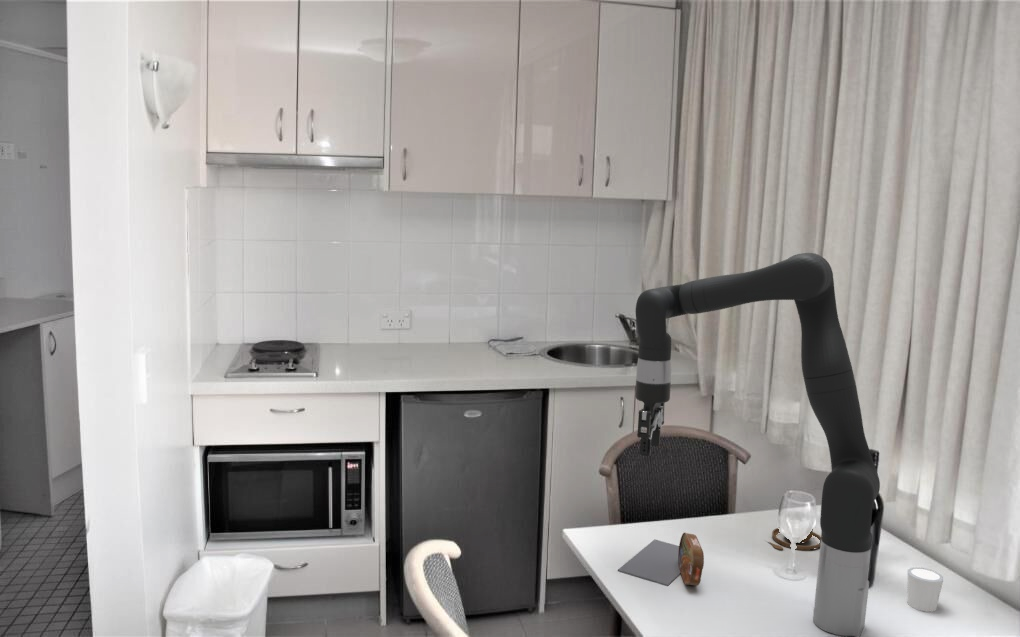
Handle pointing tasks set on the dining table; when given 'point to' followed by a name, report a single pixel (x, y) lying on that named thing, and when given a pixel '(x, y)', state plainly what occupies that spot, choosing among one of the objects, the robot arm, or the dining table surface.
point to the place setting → (797, 545)
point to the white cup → (923, 588)
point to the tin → (690, 559)
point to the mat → (655, 563)
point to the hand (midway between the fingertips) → (649, 450)
